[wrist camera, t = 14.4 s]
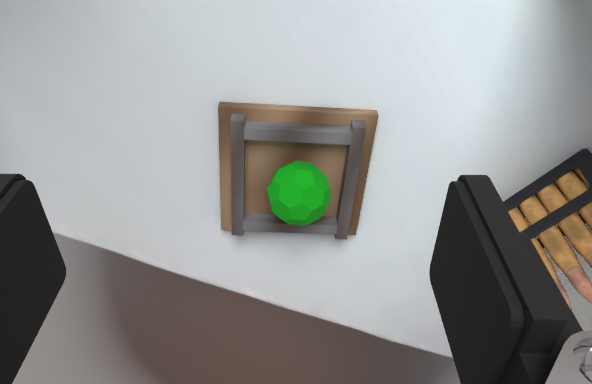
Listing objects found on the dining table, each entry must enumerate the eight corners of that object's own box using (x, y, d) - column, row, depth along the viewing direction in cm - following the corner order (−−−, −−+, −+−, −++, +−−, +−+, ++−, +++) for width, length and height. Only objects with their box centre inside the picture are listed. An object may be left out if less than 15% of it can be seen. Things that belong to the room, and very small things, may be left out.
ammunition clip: (585, 147, 40) (682, 247, 30) (596, 160, 41) (693, 261, 31) (475, 220, 45) (528, 328, 35) (486, 231, 45) (541, 339, 36)
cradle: (376, 110, 38) (380, 122, 36) (354, 229, 45) (357, 243, 43) (219, 101, 37) (216, 114, 35) (222, 223, 44) (220, 238, 42)
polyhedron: (255, 175, 40) (252, 212, 36) (298, 138, 38) (300, 173, 34) (297, 209, 42) (299, 247, 38) (340, 176, 40) (346, 212, 36)
